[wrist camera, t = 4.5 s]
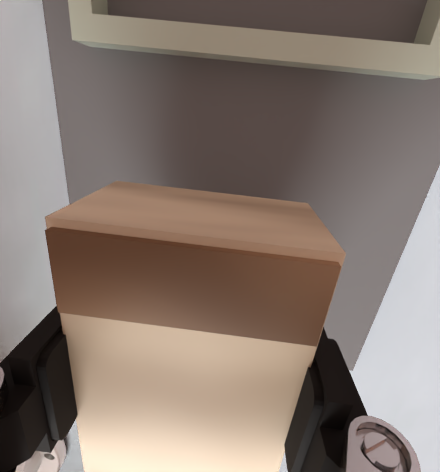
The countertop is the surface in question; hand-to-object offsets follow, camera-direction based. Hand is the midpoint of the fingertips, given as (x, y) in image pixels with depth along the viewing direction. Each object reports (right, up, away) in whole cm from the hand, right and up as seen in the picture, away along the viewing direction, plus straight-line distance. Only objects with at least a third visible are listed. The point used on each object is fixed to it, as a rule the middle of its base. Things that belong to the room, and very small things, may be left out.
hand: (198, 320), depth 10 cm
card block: (0, 0, +1) cm, 1 cm away
